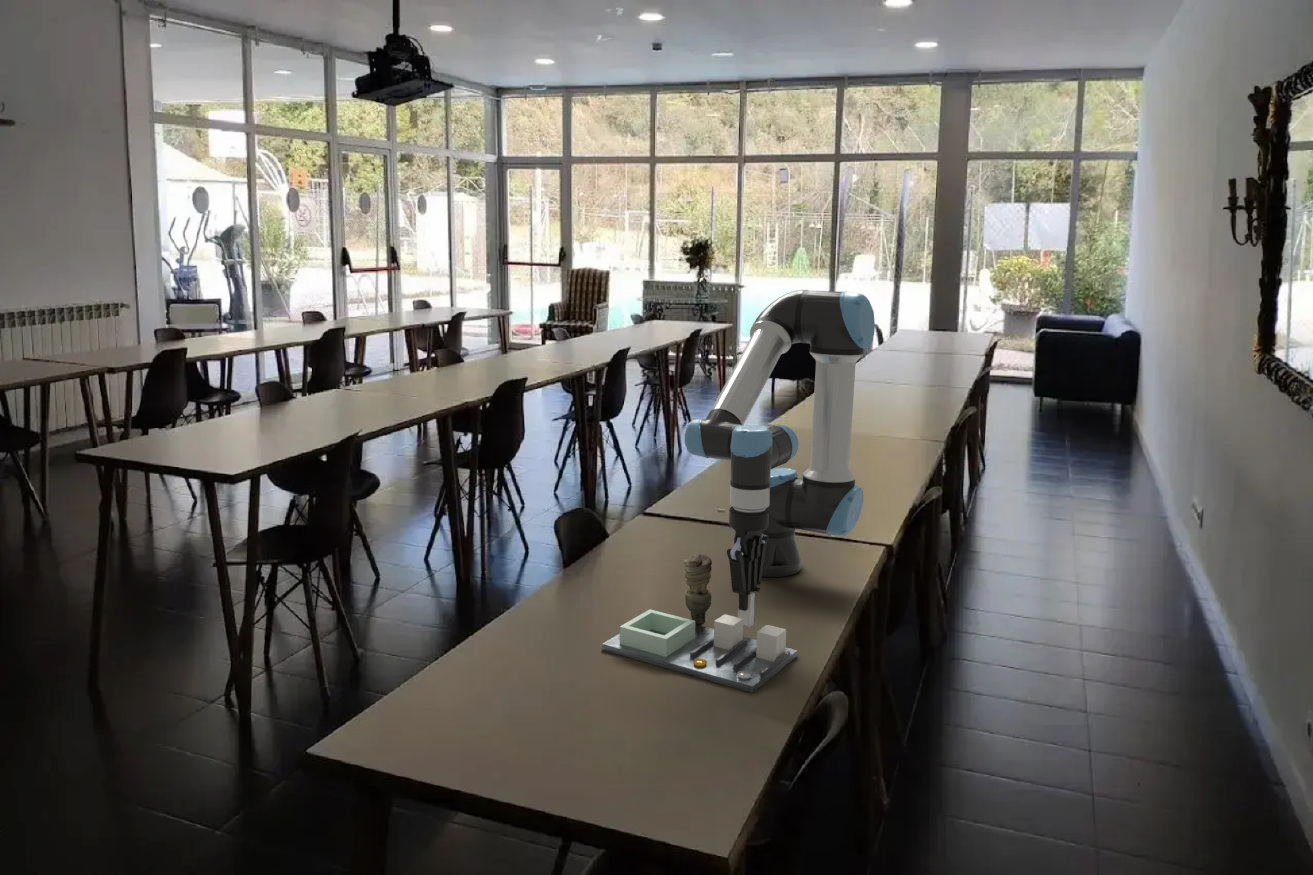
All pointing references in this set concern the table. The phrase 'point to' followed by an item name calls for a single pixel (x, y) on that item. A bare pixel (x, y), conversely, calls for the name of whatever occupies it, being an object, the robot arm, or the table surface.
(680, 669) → the panel
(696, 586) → the light bulb
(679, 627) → the socket
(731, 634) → the block
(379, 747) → the table surface
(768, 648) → the block
